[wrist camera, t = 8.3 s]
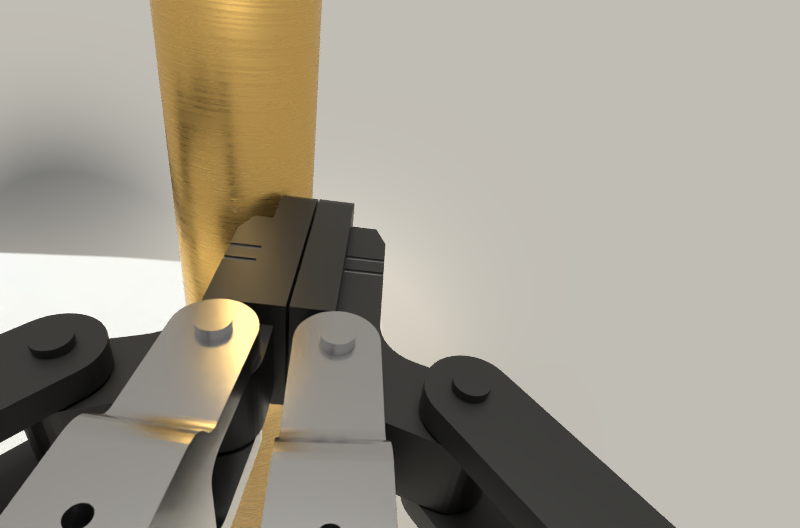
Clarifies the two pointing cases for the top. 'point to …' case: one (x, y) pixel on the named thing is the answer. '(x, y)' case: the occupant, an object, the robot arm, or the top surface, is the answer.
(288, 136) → the crank handle
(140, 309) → the top surface
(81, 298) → the top surface
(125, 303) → the top surface
